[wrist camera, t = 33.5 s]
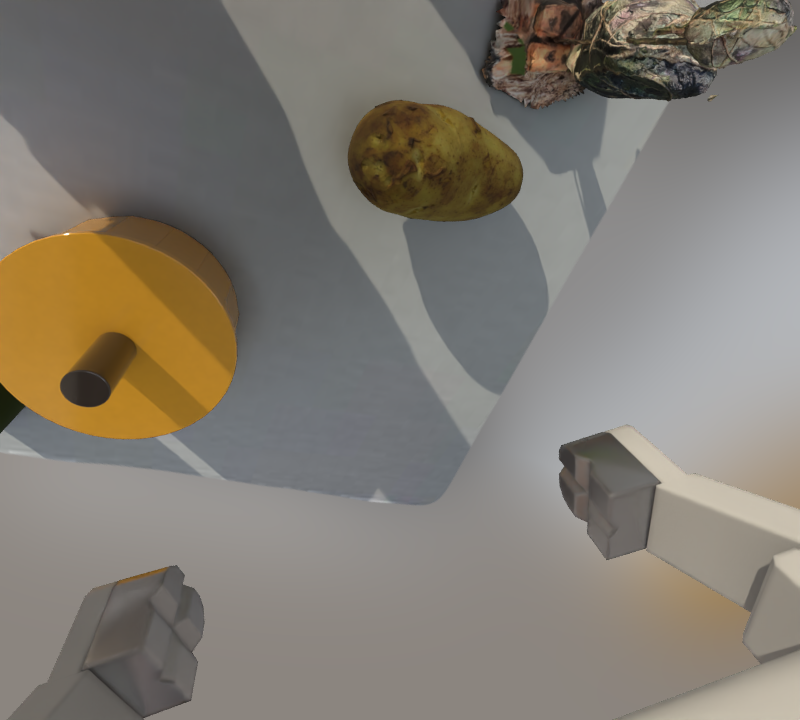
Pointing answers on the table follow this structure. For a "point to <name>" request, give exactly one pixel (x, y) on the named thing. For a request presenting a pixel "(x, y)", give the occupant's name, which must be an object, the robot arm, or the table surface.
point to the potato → (431, 163)
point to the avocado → (8, 407)
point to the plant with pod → (627, 46)
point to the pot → (172, 251)
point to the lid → (112, 335)
